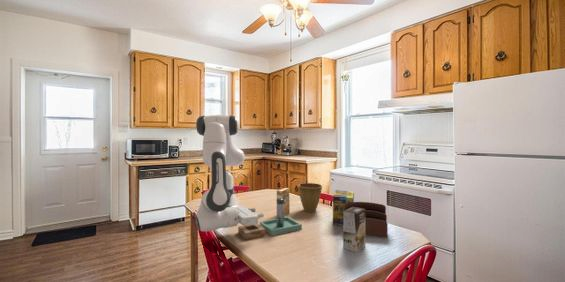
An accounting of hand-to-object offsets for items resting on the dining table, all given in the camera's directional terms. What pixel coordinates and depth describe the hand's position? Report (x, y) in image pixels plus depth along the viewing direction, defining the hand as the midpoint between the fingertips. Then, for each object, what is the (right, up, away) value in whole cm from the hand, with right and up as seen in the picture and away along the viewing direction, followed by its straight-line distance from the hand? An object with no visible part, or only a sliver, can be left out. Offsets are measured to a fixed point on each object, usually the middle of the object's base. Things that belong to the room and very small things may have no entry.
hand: (258, 212), depth 128 cm
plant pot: (+29, -9, +36) cm, 48 cm away
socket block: (-3, -10, -2) cm, 11 cm away
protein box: (+45, -10, +16) cm, 49 cm away
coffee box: (+43, -11, -16) cm, 47 cm away
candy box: (+12, -9, +28) cm, 32 cm away
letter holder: (+52, -10, 0) cm, 53 cm away
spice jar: (+11, -9, +6) cm, 15 cm away
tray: (+11, -10, +6) cm, 16 cm away
